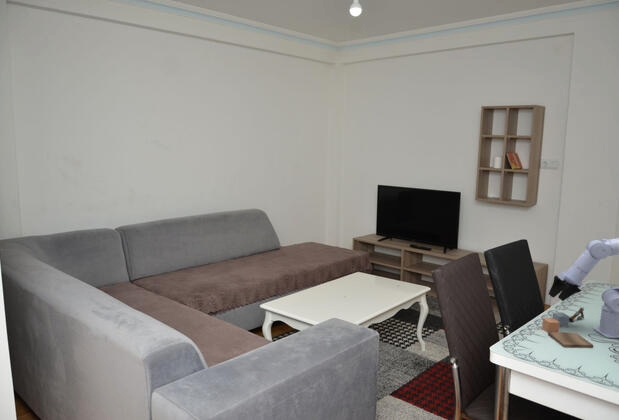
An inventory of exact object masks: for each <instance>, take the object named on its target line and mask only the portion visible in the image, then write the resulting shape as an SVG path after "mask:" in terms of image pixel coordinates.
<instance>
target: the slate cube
mask: <svg viewBox="0 0 619 420" xmlns="http://www.w3.org/2000/svg"><path fill="white" fill-rule="evenodd" d="M569 317H570V316H569V315H568V314H566V313H564V312H552V318H554V319H555V320H557V321H558V322H560V326H559V328H560V327H562V328H563V327H566V328H568V327H569V324H570V321H569Z"/></svg>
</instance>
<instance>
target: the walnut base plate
mask: <svg viewBox="0 0 619 420" xmlns="http://www.w3.org/2000/svg"><path fill="white" fill-rule="evenodd" d="M547 336H549V337H550V338H551V339H553V340H554V341H555V342H556V343H558V344H559V345H560V346H561V347H563V348H573V349H574V348H575V349H576V348H577V349H582V348H583V349H585V348H587V349H593V348H594V344H593V343H591V342H589V341H588V340H587V339H585V338H584V337H583V336H581V334H578V333H577V332H560V331H559V332H548V333H547Z"/></svg>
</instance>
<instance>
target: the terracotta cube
mask: <svg viewBox="0 0 619 420" xmlns="http://www.w3.org/2000/svg"><path fill="white" fill-rule="evenodd" d="M559 326H560V322H558V321H557V320H555V319H554V318H550V317H543V318H542V325H541V330H544V331H545V332H546V333H547V334H548V332H560V327H559Z"/></svg>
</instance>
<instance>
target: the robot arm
mask: <svg viewBox="0 0 619 420" xmlns="http://www.w3.org/2000/svg"><path fill="white" fill-rule="evenodd" d="M585 248H586V249H585V250H584V251H583V252H582V253H581V254H580V256H579V257H578V258H577V259H576V260H575V261H574V263H573V264H572V265H571V266H570V267H569V268H568V269H567V271H561V272H560V273H559V275H554V277H553V282H552V286H551V287H550V289H549V290H548V291H549V292H548V295H549V296H550V297H551V298H555V297H556V296H558V297H557V298H558V299H559V300H561V302H564V301H566V300H567V299H568V298H570V297H572V296H573V295H575V294H577V293H581V291H582V289H581V287H582V286H583V284H584V283H583V280H584V279H585V278H586V277H587V276H588V275H589V274H590V273H591V272H592V270H593V269H594V268H595V267H596V266H597V264H598V263H599V262H600V261H601V260H605V259H607V258H608V257H609V256H611V257H613V256H619V236H617V238H610V239H606V238H602V241H601V240H599V239H598V240H597V239H596V240H593V239H592V240H591V241H589V242H587V243H586V246H585ZM601 301H602V302H604V303H603V305H602V307H601V313H600V319H599V327H593V330H594V331H596V332H597V333H599V334H600V335H601V336H604V337H605V338H608V339H619V285H618V286H616V287H613V288H608V289H605V290H604V291H603V292H602V294H601Z"/></svg>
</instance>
